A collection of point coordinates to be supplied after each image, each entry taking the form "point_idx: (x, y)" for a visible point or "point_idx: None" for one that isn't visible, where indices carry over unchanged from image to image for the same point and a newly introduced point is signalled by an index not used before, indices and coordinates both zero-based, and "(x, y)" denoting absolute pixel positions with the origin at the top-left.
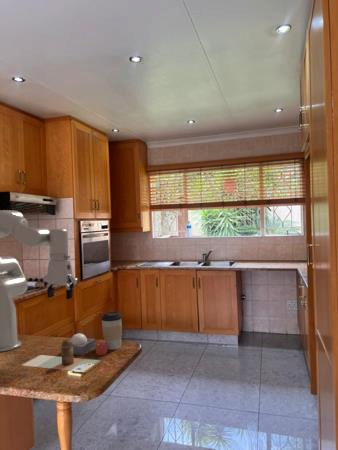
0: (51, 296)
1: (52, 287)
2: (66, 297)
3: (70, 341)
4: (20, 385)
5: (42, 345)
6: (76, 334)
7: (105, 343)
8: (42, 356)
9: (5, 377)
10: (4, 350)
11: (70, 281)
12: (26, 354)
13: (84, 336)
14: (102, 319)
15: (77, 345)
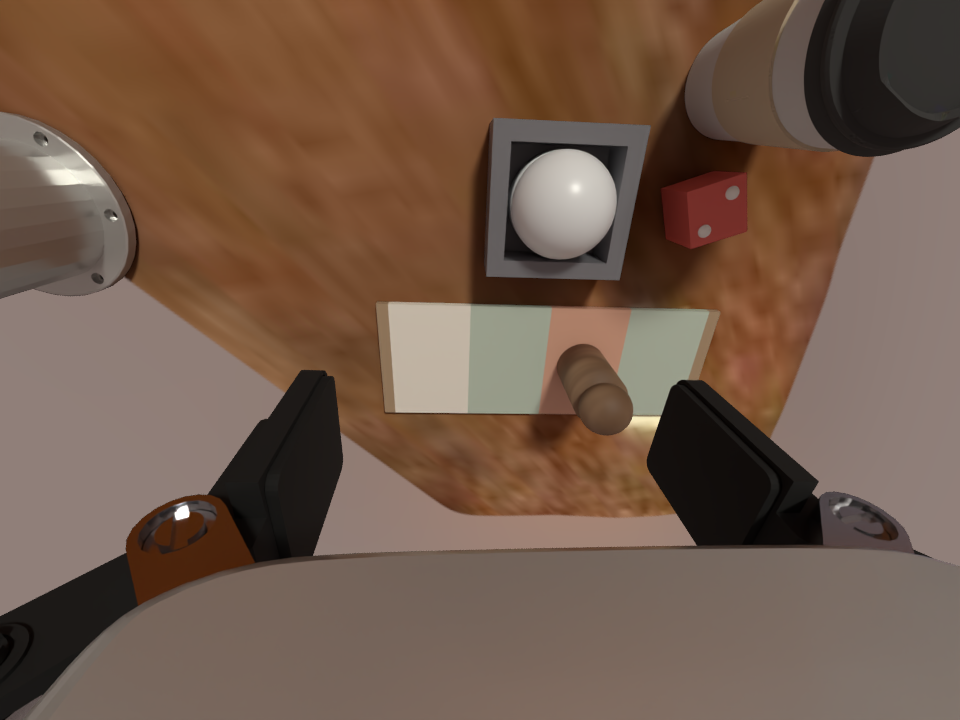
0: (337, 428)
1: (253, 504)
2: (657, 480)
3: (631, 415)
4: (505, 507)
5: (247, 138)
6: (565, 224)
7: (743, 204)
8: (410, 319)
9: (411, 480)
10: (120, 279)
11: (939, 588)
12: (288, 291)
13: (612, 201)
14: (829, 126)
15: (582, 264)
